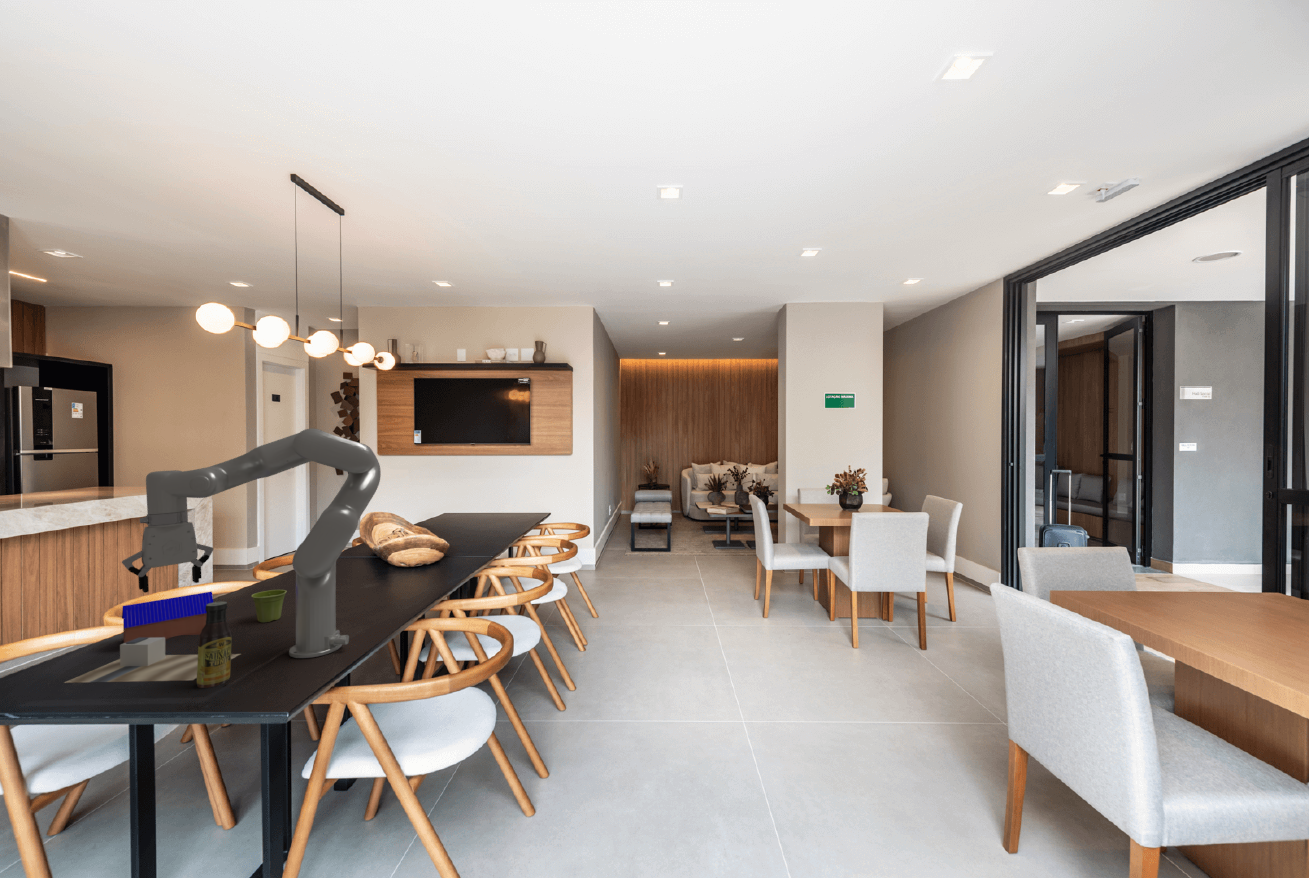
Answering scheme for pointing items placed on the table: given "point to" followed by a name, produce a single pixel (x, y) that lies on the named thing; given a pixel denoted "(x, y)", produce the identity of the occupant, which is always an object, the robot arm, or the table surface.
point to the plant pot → (269, 604)
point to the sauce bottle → (214, 647)
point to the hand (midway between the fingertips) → (171, 586)
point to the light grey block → (142, 651)
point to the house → (166, 617)
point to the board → (146, 671)
